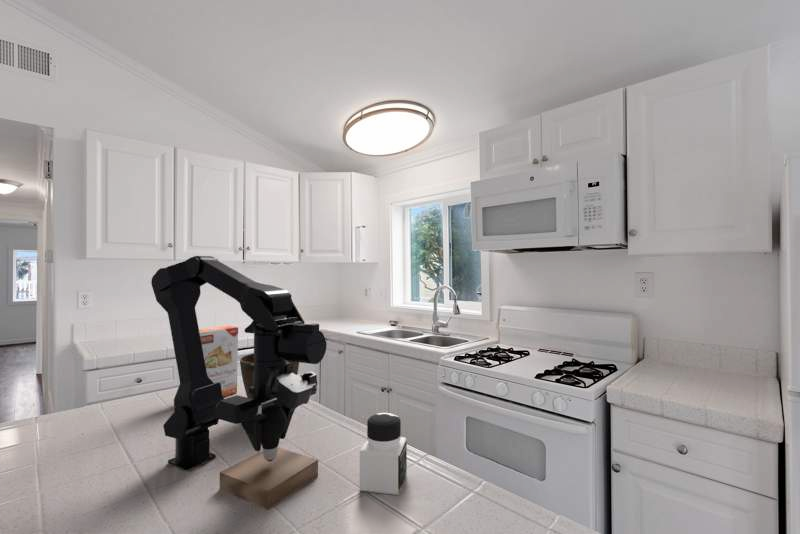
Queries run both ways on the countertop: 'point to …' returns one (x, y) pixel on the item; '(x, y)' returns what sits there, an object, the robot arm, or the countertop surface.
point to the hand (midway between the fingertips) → (270, 444)
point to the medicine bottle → (383, 455)
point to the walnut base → (268, 477)
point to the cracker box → (221, 356)
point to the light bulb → (272, 430)
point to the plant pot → (249, 375)
